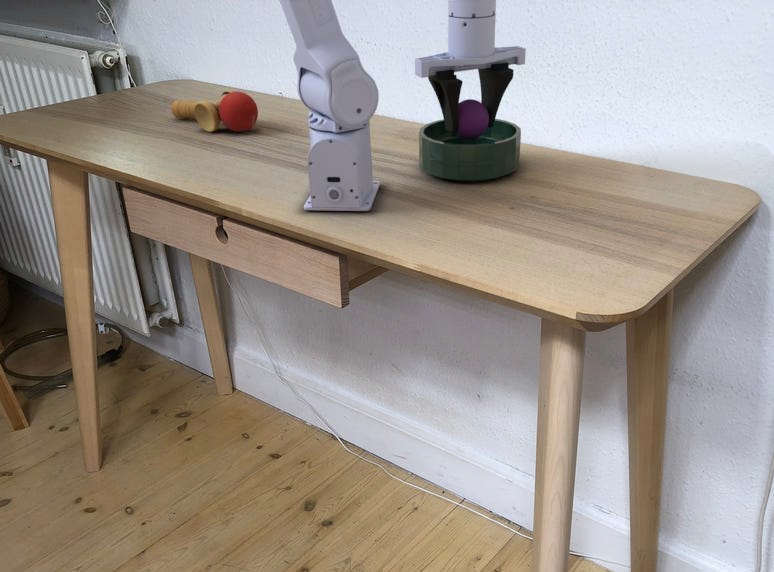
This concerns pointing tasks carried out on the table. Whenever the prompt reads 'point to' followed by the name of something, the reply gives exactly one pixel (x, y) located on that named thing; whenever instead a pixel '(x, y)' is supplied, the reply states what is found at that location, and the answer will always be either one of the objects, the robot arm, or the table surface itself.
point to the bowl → (469, 152)
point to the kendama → (220, 111)
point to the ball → (472, 119)
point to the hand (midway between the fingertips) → (469, 128)
